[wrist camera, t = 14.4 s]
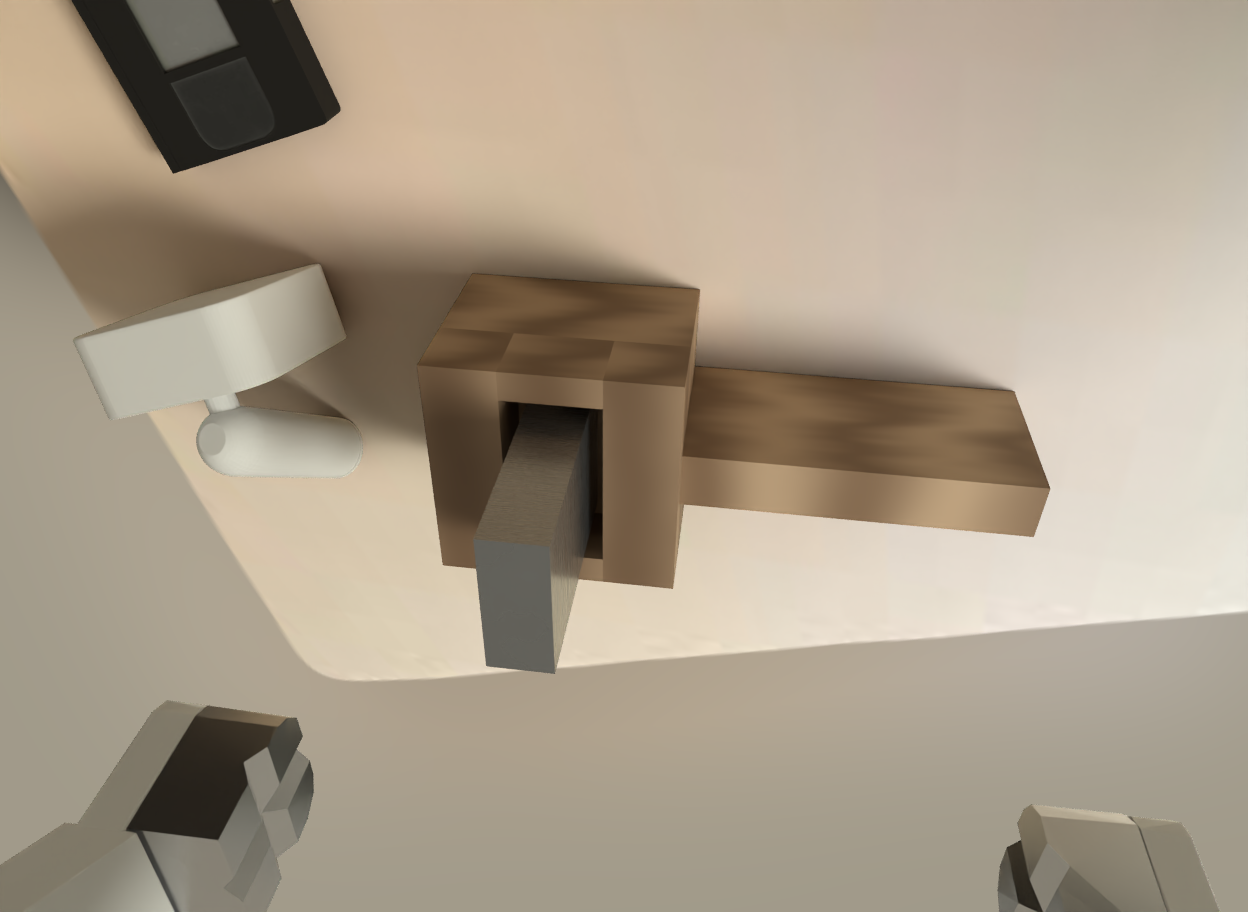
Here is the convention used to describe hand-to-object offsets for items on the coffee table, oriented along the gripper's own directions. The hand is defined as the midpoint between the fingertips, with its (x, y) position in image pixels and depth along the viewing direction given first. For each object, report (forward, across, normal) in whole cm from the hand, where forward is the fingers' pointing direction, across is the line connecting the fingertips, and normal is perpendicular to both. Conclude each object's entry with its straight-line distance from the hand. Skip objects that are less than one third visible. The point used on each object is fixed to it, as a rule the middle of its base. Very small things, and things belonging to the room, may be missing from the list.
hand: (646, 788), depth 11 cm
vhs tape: (+32, +22, -3) cm, 39 cm away
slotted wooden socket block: (+31, -1, +14) cm, 34 cm away
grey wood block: (+26, +6, +14) cm, 30 cm away
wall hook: (+32, +20, +14) cm, 40 cm away
